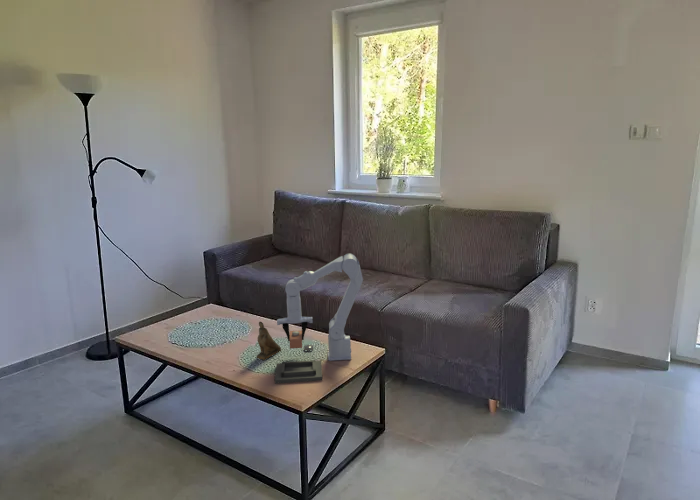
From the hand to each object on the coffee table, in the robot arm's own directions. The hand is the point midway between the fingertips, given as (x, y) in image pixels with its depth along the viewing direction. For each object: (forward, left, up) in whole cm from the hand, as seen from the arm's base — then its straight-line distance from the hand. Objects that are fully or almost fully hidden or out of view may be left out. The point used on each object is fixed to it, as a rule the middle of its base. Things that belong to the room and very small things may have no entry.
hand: (296, 339), depth 207 cm
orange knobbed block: (0, 0, -2) cm, 2 cm away
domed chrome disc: (-5, -8, -9) cm, 13 cm away
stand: (-1, +14, -8) cm, 16 cm away
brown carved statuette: (+12, -6, -9) cm, 16 cm away
